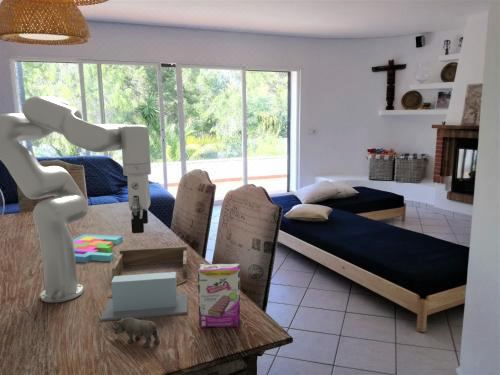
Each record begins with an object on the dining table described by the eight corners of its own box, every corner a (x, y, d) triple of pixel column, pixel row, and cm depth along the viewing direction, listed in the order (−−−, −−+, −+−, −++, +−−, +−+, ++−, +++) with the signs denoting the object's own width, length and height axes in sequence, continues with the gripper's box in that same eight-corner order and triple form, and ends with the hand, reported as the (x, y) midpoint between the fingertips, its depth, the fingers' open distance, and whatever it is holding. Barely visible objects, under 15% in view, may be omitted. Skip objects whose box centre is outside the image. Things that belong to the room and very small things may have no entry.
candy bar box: (199, 328, 106) (196, 270, 103) (200, 319, 111) (198, 263, 108) (241, 327, 106) (239, 269, 104) (240, 318, 111) (239, 262, 109)
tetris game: (43, 260, 161) (106, 265, 155) (42, 254, 160) (105, 258, 154) (84, 239, 188) (139, 242, 182) (84, 234, 187) (139, 237, 181)
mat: (187, 313, 114) (187, 311, 114) (100, 320, 111) (100, 318, 111) (187, 295, 126) (187, 293, 126) (109, 301, 123) (108, 299, 123)
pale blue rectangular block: (176, 306, 118) (175, 277, 116) (113, 311, 115) (111, 282, 113) (177, 299, 122) (175, 271, 120) (116, 304, 119) (114, 276, 118)
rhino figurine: (117, 331, 106) (116, 310, 105) (162, 340, 101) (161, 318, 100) (107, 339, 102) (105, 317, 101) (153, 349, 97) (151, 326, 96)
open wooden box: (186, 277, 141) (186, 261, 140) (112, 282, 137) (111, 265, 136) (187, 260, 157) (186, 245, 156) (121, 264, 154) (120, 249, 153)
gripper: (147, 173, 104) (150, 236, 107) (153, 165, 121) (156, 219, 124) (117, 173, 103) (121, 237, 106) (128, 165, 120) (131, 220, 123)
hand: (140, 227), depth 115 cm, fingers open, 9 cm apart
